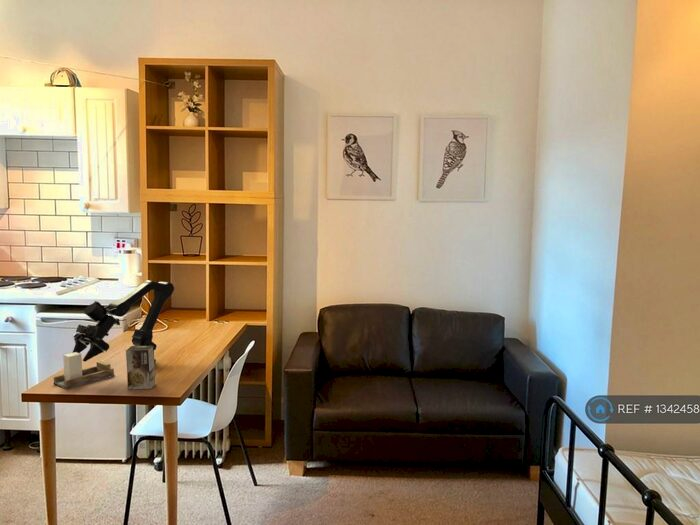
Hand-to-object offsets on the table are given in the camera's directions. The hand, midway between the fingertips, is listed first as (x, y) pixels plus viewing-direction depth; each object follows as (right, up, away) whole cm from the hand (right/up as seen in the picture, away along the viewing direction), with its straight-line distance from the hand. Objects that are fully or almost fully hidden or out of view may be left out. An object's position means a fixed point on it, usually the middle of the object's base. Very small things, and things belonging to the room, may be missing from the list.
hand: (77, 359), depth 209 cm
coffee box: (+28, -10, -4) cm, 30 cm away
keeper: (-1, -8, -1) cm, 8 cm away
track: (+1, -9, +3) cm, 10 cm away
